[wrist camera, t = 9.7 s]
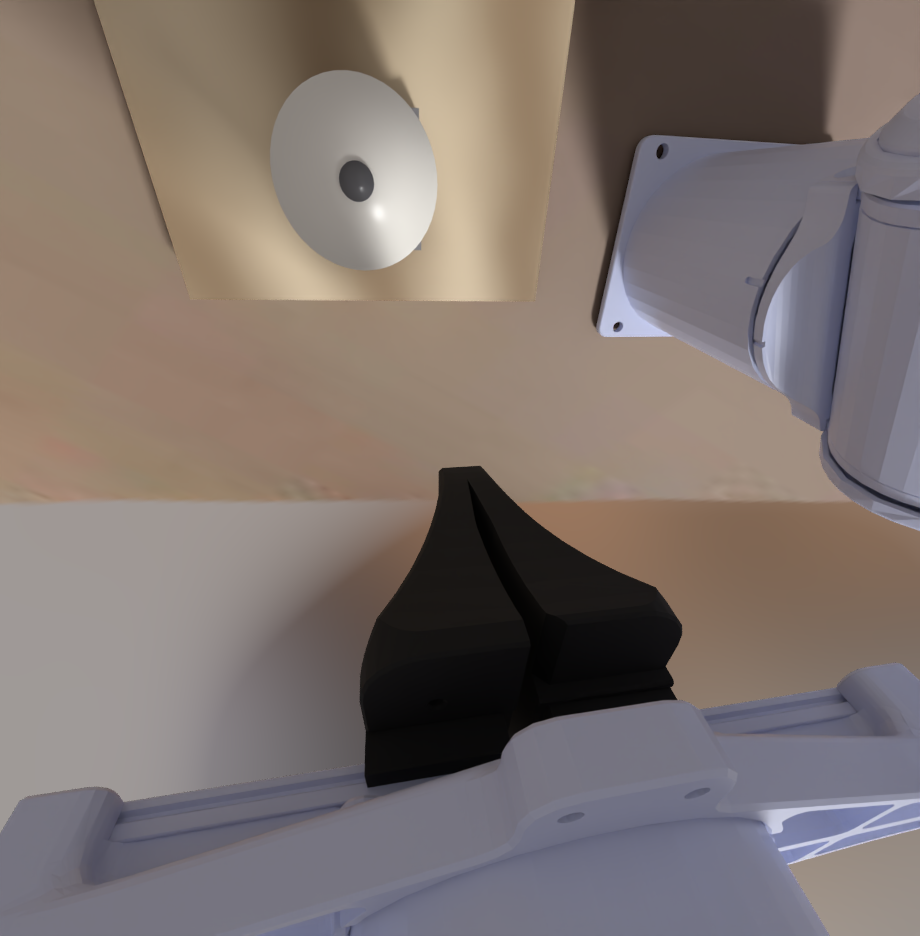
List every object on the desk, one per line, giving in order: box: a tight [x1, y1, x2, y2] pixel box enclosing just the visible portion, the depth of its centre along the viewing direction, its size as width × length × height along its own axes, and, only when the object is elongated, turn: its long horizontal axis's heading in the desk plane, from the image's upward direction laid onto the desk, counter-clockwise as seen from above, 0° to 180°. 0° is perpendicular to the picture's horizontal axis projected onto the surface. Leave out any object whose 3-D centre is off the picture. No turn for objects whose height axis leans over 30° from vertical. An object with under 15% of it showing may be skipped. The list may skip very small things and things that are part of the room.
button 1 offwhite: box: [270, 70, 437, 271], centre depth 13 cm, size 5×5×2 cm
